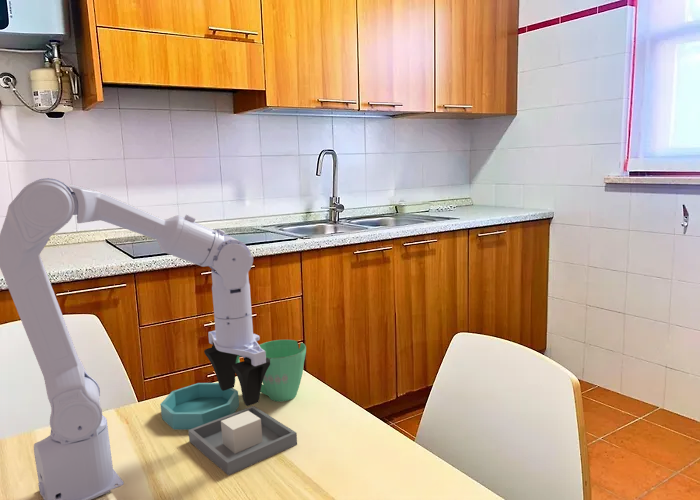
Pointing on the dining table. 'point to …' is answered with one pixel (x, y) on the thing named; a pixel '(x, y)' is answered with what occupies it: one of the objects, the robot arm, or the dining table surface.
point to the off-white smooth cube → (241, 431)
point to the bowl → (198, 405)
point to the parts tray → (273, 443)
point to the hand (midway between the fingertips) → (239, 395)
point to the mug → (282, 369)
